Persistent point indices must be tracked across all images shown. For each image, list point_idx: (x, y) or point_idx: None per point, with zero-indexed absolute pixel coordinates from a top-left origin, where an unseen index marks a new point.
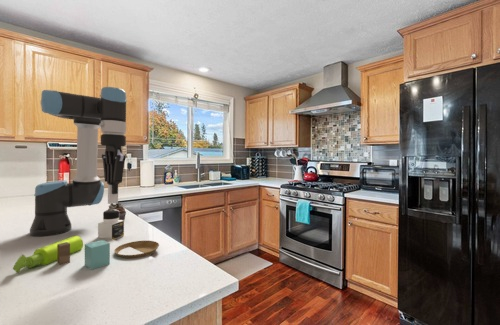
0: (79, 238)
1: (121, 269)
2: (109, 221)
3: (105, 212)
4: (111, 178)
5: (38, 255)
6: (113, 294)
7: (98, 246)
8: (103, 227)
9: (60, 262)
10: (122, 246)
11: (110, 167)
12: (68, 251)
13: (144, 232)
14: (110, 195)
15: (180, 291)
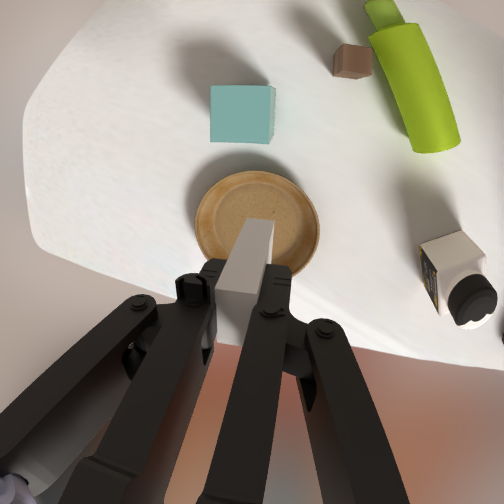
0: (429, 148)
1: (189, 144)
2: (456, 278)
3: (483, 290)
4: (171, 329)
5: (381, 17)
6: (98, 90)
7: (210, 106)
8: (461, 254)
9: (335, 52)
10: (313, 217)
11: (153, 438)
12: (338, 68)
13: (393, 328)
14: (235, 245)
15: (45, 175)
